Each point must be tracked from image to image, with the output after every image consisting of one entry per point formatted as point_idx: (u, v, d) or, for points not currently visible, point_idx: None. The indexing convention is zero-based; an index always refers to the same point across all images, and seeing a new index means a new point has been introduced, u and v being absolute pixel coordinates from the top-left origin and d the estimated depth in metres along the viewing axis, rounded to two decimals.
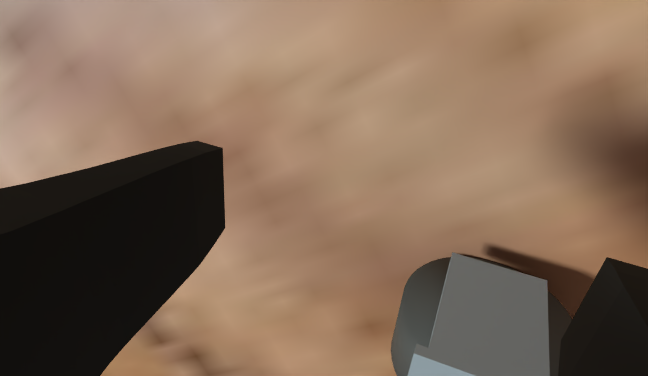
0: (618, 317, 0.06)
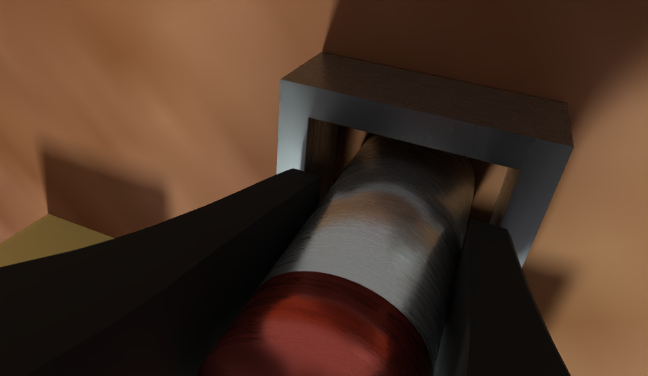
0: (461, 268, 0.07)
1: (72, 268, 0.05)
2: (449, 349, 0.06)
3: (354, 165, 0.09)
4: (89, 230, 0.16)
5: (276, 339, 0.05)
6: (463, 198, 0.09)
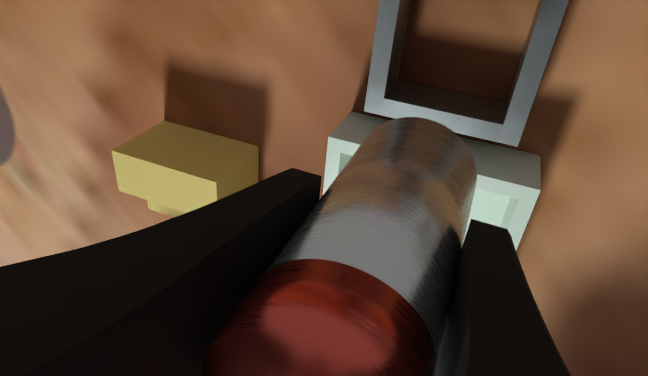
0: (461, 268, 0.07)
1: (71, 267, 0.05)
2: (449, 349, 0.06)
3: (357, 157, 0.09)
4: (199, 130, 0.21)
5: (282, 323, 0.05)
6: (465, 190, 0.09)
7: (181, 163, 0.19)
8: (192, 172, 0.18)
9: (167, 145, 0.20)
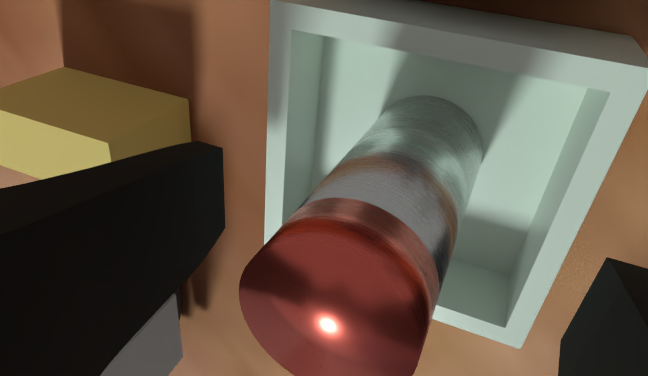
0: (618, 317, 0.06)
1: None
2: None
3: (374, 127, 0.10)
4: (108, 79, 0.15)
5: (310, 241, 0.06)
6: (471, 159, 0.10)
7: (64, 117, 0.13)
8: (76, 129, 0.12)
9: (54, 95, 0.14)
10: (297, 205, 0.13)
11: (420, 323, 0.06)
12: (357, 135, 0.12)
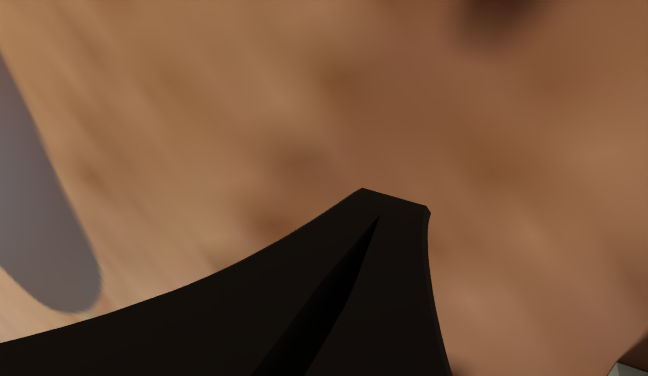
0: None
1: (182, 312, 0.05)
2: None
3: None
4: None
5: None
6: None
7: None
8: None
9: None
10: None
11: None
12: None
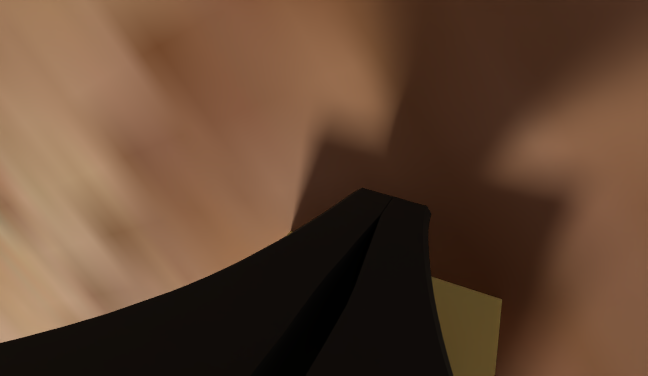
0: None
1: (182, 312, 0.05)
2: None
3: None
4: None
5: None
6: None
7: None
8: None
9: None
10: None
11: None
12: None
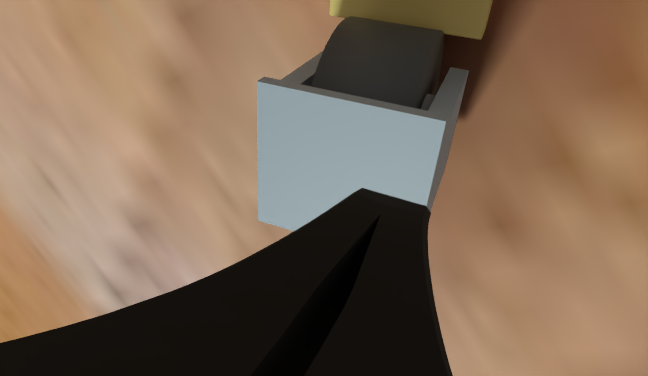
0: None
1: (183, 312, 0.05)
2: None
3: None
4: None
5: None
6: None
7: None
8: None
9: None
10: None
11: None
12: None
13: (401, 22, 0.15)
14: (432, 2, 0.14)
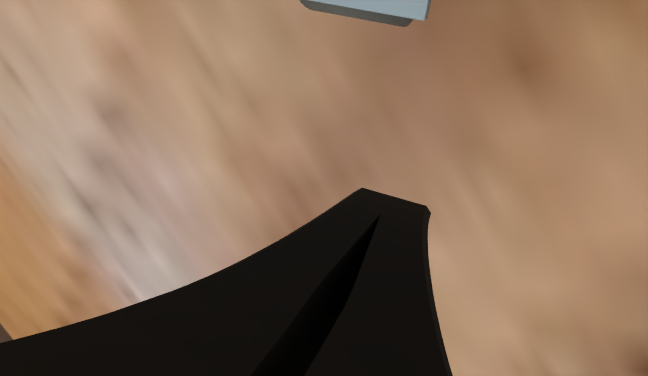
0: None
1: (182, 312, 0.05)
2: None
3: None
4: None
5: None
6: None
7: None
8: None
9: None
10: None
11: None
12: None
13: None
14: None
